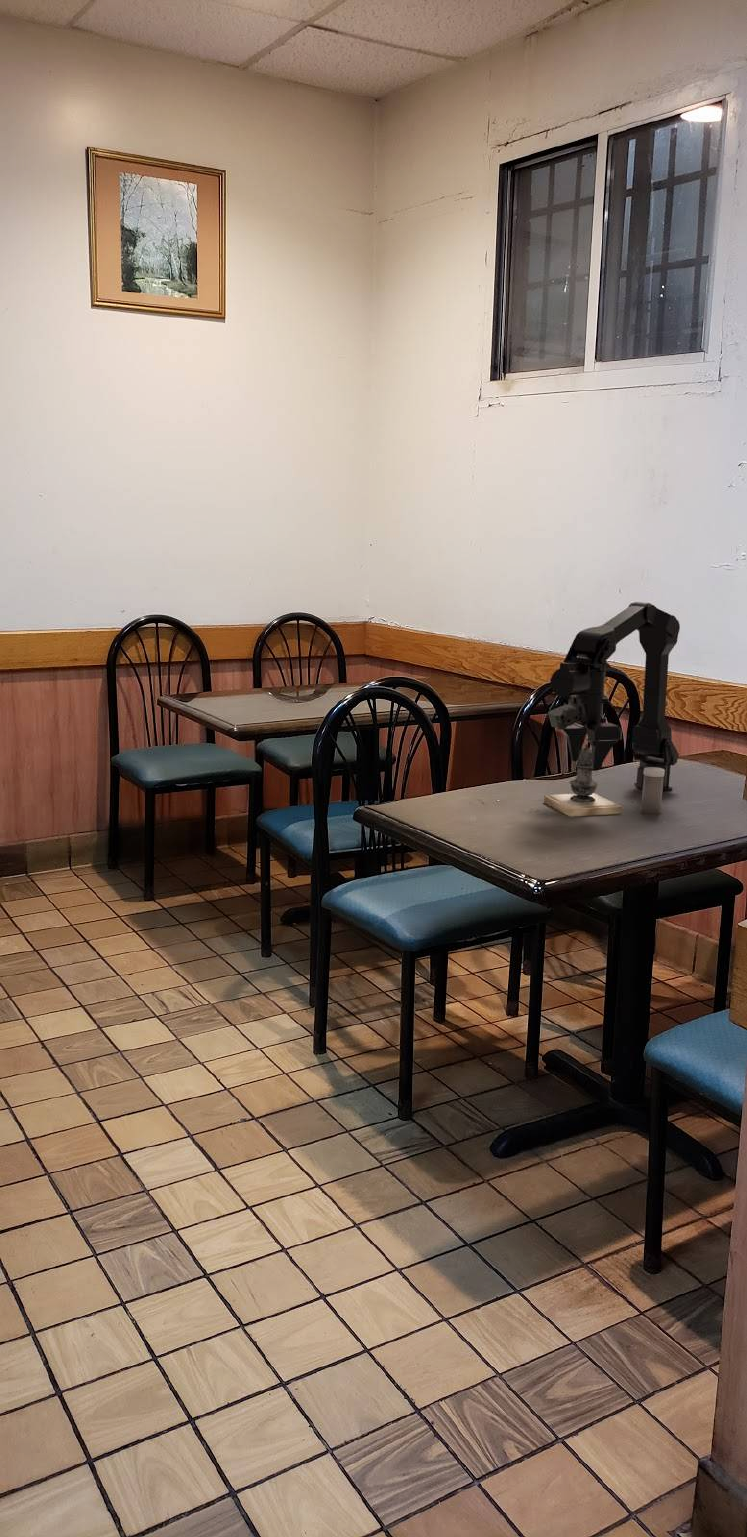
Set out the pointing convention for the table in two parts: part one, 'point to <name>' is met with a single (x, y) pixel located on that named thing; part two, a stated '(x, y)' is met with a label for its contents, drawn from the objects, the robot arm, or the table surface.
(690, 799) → the table surface
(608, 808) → the maple picture frame
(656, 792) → the pepper shaker
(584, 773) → the salt shaker
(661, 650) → the robot arm
